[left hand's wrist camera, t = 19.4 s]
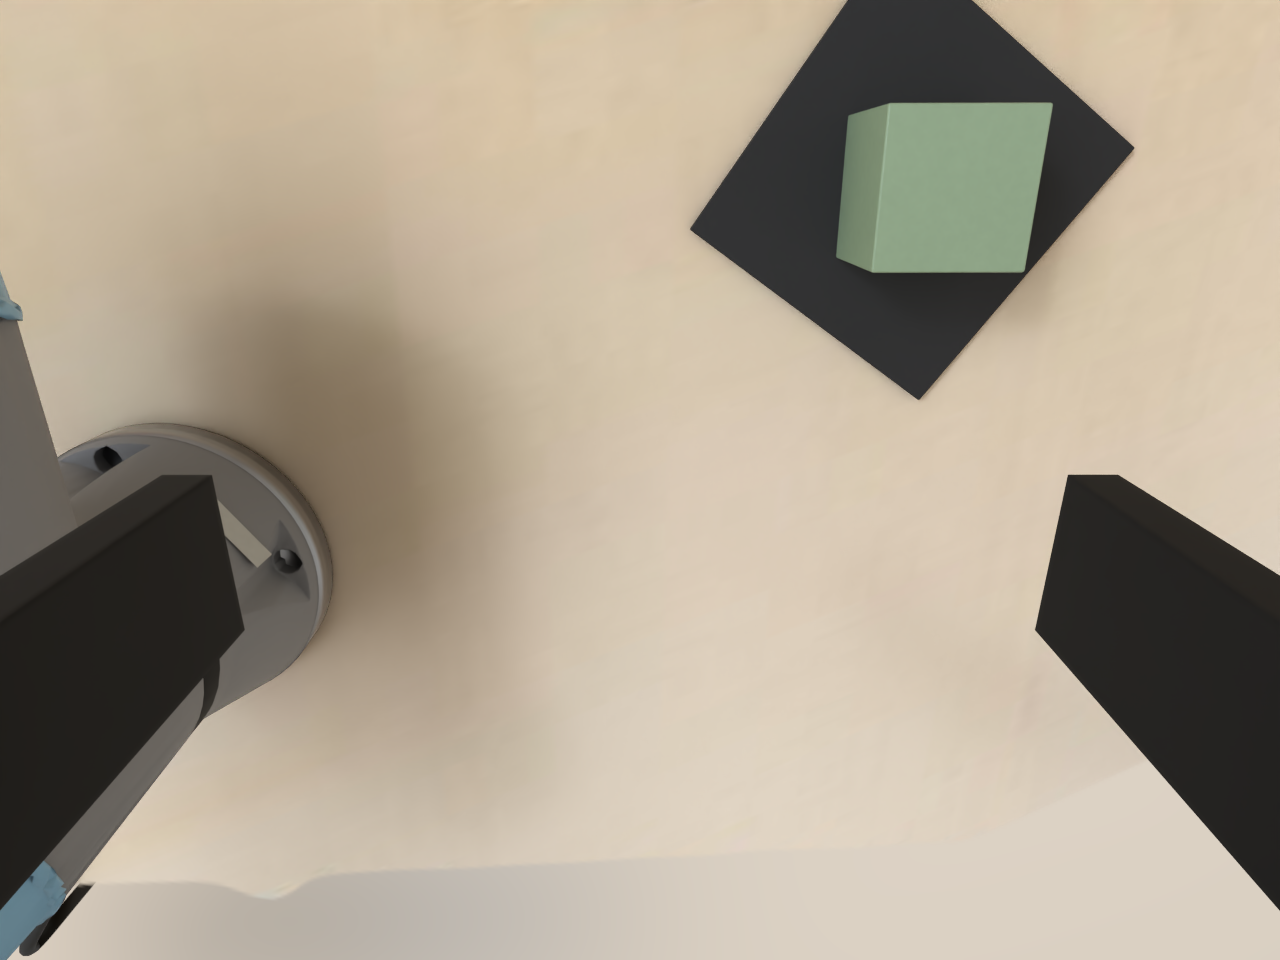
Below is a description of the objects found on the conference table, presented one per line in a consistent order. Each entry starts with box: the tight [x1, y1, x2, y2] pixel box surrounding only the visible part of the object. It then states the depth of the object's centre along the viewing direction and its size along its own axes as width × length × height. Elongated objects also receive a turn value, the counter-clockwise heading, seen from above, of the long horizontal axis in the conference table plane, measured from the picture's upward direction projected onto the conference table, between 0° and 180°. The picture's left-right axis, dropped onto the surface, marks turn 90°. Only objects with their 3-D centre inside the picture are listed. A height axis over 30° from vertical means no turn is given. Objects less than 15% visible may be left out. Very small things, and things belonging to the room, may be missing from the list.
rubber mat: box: [690, 0, 1134, 400], centre depth 35 cm, size 14×14×1 cm
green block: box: [836, 103, 1053, 273], centre depth 32 cm, size 6×6×6 cm
